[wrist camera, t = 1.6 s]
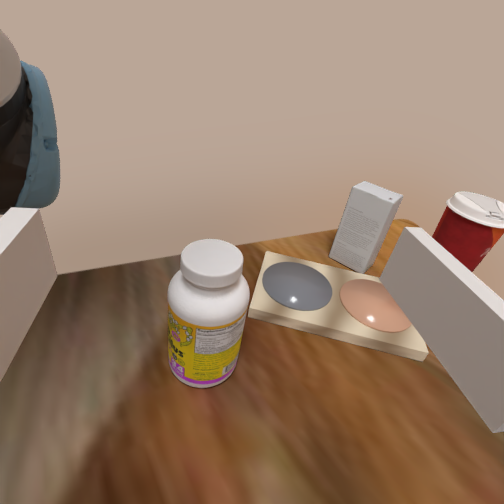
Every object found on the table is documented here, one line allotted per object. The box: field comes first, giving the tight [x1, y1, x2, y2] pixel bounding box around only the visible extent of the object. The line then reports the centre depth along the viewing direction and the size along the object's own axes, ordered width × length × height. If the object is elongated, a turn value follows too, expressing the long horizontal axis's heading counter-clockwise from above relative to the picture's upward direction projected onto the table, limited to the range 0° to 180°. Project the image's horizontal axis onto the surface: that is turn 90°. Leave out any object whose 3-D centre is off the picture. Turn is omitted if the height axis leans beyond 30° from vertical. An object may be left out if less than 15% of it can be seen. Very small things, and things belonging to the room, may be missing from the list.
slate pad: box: [262, 262, 332, 311], centre depth 40 cm, size 9×9×1 cm
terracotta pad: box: [340, 279, 412, 333], centre depth 39 cm, size 9×9×1 cm
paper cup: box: [432, 192, 504, 272], centre depth 42 cm, size 8×8×14 cm
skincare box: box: [329, 181, 403, 274], centre depth 46 cm, size 6×4×12 cm
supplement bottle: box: [168, 239, 250, 388], centre depth 27 cm, size 7×7×13 cm
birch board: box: [248, 251, 429, 362], centre depth 40 cm, size 20×12×2 cm, turn 79°
